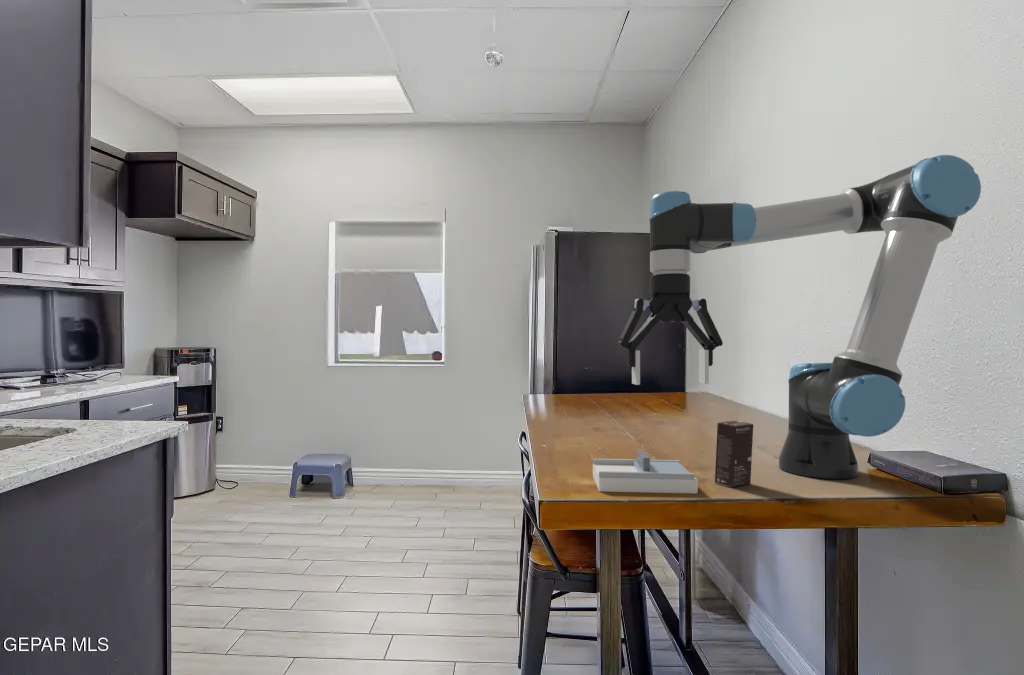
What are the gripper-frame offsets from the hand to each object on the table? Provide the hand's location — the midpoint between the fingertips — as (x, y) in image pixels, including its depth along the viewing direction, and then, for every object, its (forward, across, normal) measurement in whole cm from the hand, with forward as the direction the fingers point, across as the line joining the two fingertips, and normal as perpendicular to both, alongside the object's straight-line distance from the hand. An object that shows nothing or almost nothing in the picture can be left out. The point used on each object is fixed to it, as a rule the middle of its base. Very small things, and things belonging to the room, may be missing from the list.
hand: (670, 383), depth 114 cm
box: (+20, -13, 0) cm, 24 cm away
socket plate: (+19, +5, -1) cm, 20 cm away
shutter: (+17, +2, 0) cm, 17 cm away
